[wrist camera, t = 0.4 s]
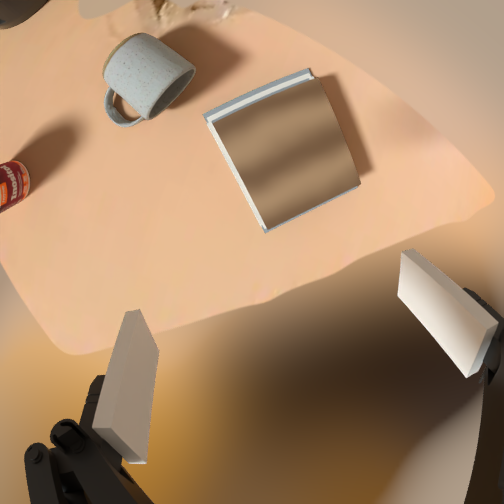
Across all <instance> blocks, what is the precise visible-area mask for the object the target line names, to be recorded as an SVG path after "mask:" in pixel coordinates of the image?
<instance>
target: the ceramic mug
mask: <svg viewBox="0 0 504 504" xmlns="http://www.w3.org/2000/svg"><path fill="white" fill-rule="evenodd" d="M195 72H196V68H195V66H194V65H193V64H191V63H190V62H189V61H187V60H186V59H184V58H183V57H182V56H181V55H179V54H178V53H177V52H175V51H174V50H172V49H171V48H169V47H168V46H166V45H165V44H164V43H162V42H161V41H160V40H158V39H157V38H155V37H153V36H151V35H149V34H146V33H137V34H134V35H132V36H130V37H128V38H126V39H125V40H123V41H122V42H121V43H120V44H119V45H118V46H117V47H116V48H115V49H114V50H113V51H112V52H111V54H110V55H109V57H108V58H107V60H106V62H105V64H104V67H103V78H104V80H105V81H106V83H107V84H108V85H109V86H110V87H109V88H108V90H107V92H106V94H105V99H104V107H105V111H106V113H107V115H108V116H109V118H110V119H111V120H112V121H113V122H114V123H115V124H116V125H118V126H121V127H130V126H133V125H136V124H137V123H139V122H141V121H142V120H143V119H146V120H151V119H153V118H155V117H156V116H157V115H159V114H160V113H161V112H162V111H164V110H165V109H166V108H167V107H168V106H169V105H170V104H171V103H172V102H173V101H174V100H175V99H176V98H177V97H178V96H179V95H180V94H181V93H182V92H183V90H184V89H185V88H186V87H187V85H188V84H189V83H190V81H191V80H192V79H193V77H194V75H195ZM114 92H116V93H118V94H119V95H120V96H121V97H122V98H123V99H124V100H125V101H126V102H127V103H128V104H130V105H131V106H132V107H133V108H134V109H135V110H136V111H137V112H138V113H139V114H140V115H141V117H140V118H139V119H137V120H135V121H128V120H126V119H124V118H123V117H122V116H121V115H120V113H119V112H118V111H117V110H116V108H115V107H114V106H113V95H114Z"/></svg>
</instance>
